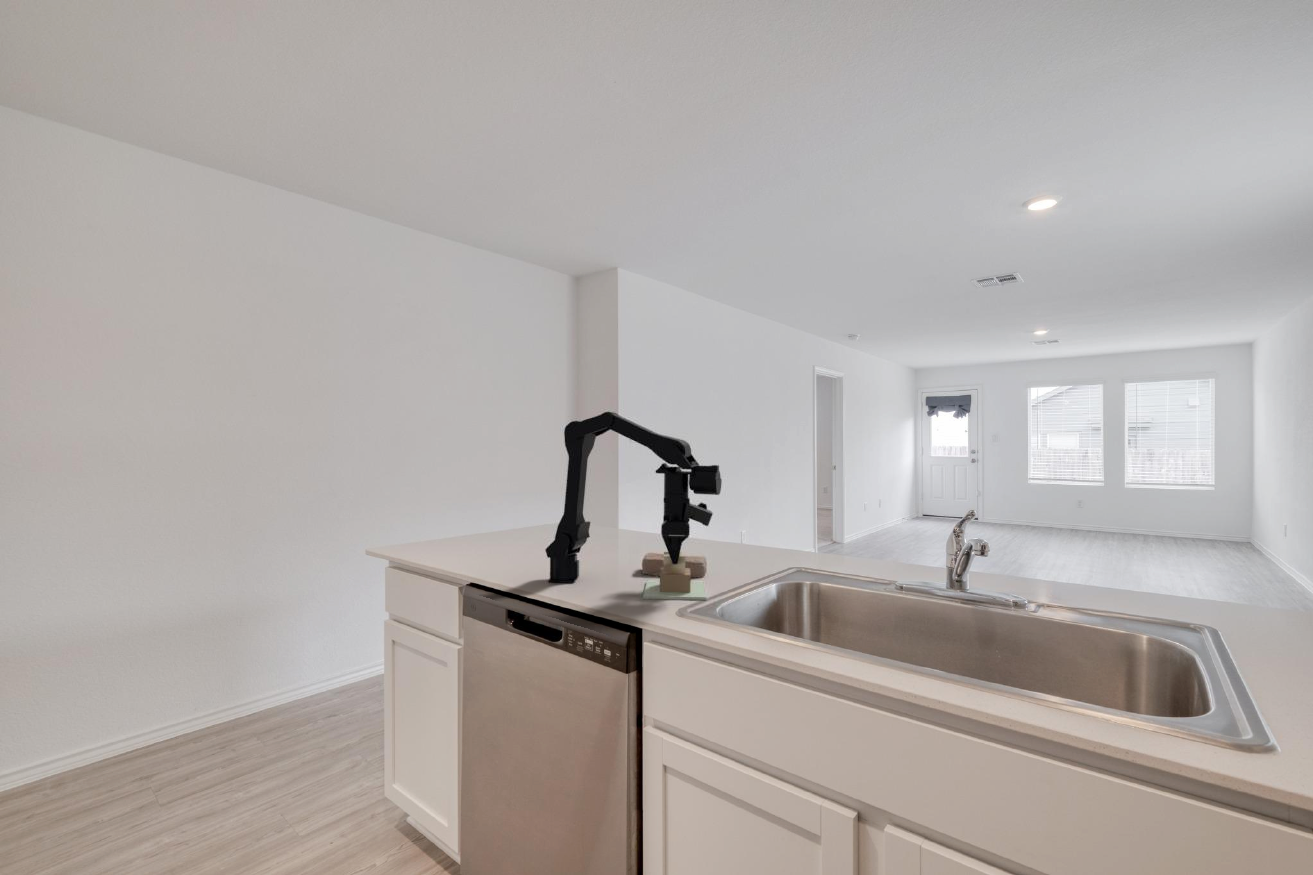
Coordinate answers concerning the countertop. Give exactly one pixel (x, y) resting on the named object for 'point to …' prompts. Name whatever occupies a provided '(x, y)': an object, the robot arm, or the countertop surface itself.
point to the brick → (655, 561)
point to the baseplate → (683, 596)
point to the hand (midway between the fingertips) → (675, 559)
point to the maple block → (674, 568)
